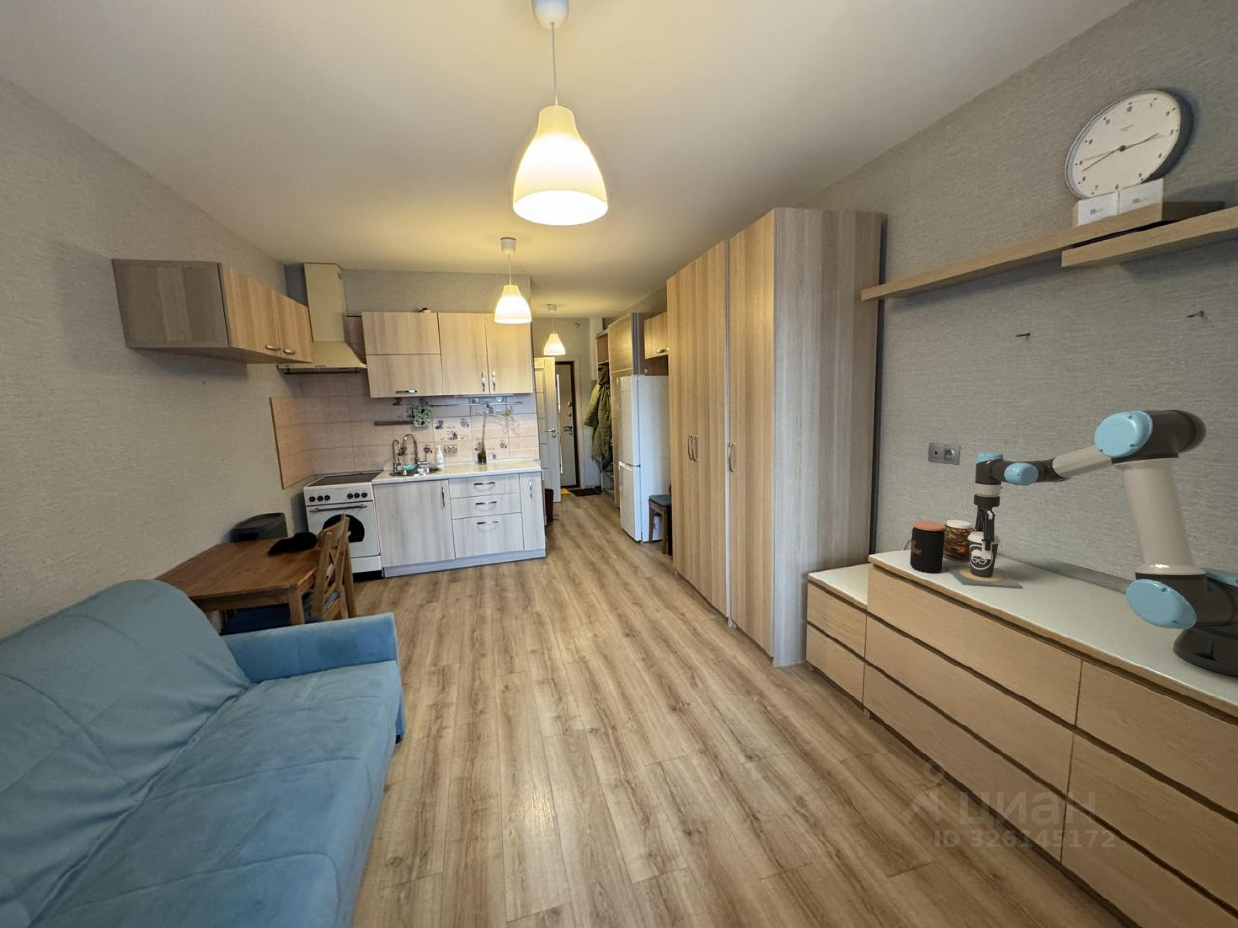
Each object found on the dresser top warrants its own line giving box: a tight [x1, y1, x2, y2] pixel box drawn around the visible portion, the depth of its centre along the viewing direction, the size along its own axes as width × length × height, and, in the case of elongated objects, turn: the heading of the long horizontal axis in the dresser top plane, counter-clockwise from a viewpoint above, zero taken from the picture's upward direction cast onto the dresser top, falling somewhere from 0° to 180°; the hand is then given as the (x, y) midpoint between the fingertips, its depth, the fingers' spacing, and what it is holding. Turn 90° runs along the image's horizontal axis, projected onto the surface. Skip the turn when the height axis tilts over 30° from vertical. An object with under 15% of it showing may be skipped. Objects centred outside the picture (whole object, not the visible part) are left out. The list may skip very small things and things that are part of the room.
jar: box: [943, 519, 976, 563], centre depth 194 cm, size 12×12×15 cm
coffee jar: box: [909, 520, 945, 574], centre depth 183 cm, size 11×11×18 cm
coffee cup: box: [968, 532, 1001, 577], centre depth 173 cm, size 10×10×15 cm
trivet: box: [943, 564, 1024, 590], centre depth 174 cm, size 18×18×1 cm
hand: (982, 554), depth 173 cm, fingers closed on coffee cup, 9 cm apart
